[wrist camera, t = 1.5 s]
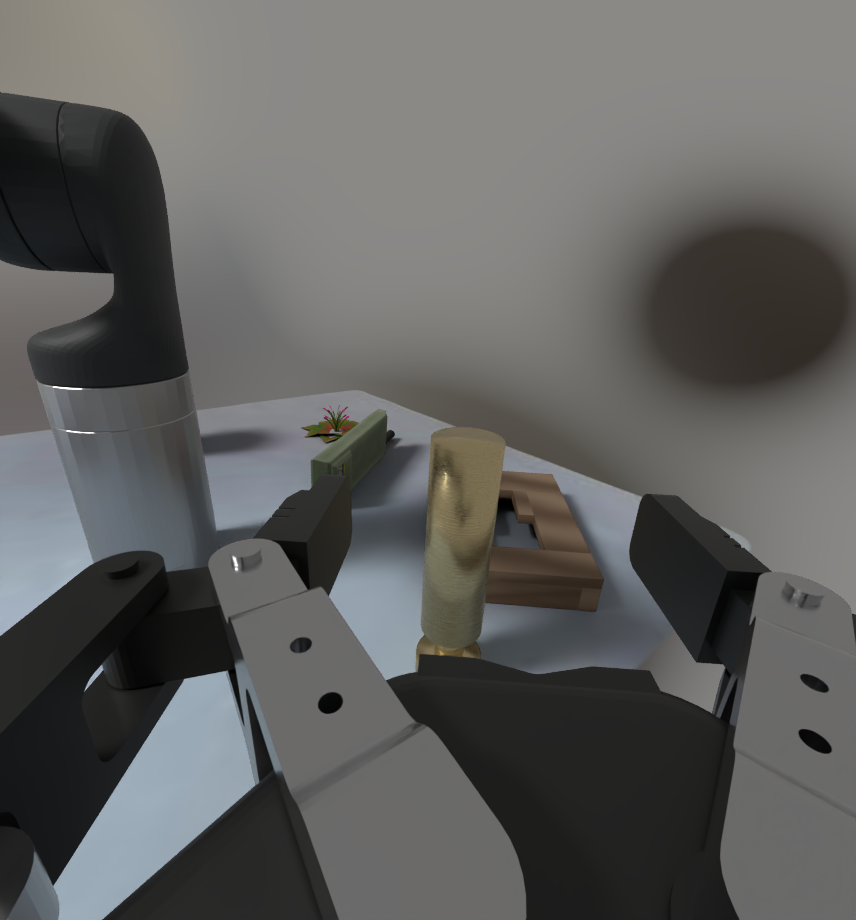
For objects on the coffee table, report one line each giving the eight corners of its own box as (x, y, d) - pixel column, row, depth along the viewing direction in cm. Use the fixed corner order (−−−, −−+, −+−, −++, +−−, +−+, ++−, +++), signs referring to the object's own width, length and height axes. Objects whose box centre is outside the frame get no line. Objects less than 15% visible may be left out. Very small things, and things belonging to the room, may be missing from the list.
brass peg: (405, 655, 30) (414, 430, 24) (458, 636, 32) (480, 423, 26) (433, 707, 27) (452, 460, 20) (491, 682, 29) (526, 448, 22)
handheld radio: (306, 511, 49) (380, 439, 71) (333, 516, 48) (399, 442, 70) (305, 457, 46) (382, 400, 68) (333, 463, 45) (402, 403, 68)
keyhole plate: (595, 611, 36) (603, 579, 34) (428, 597, 36) (430, 565, 35) (548, 498, 54) (552, 474, 53) (437, 490, 54) (439, 466, 53)
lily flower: (320, 452, 65) (319, 423, 64) (288, 430, 74) (286, 404, 72) (385, 437, 73) (385, 411, 71) (349, 418, 81) (348, 395, 79)
